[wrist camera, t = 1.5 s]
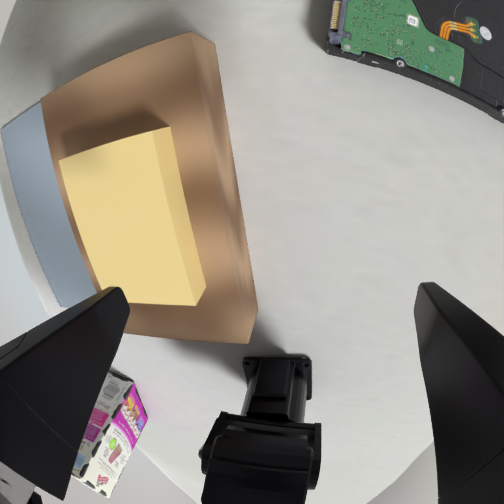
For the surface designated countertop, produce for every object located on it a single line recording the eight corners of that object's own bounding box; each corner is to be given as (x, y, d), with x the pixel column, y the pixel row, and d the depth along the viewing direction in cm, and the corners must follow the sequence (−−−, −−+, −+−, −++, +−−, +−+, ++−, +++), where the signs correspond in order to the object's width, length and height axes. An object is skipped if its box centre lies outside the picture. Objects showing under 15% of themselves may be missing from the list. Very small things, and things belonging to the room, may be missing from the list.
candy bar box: (104, 368, 35) (47, 459, 21) (135, 380, 34) (80, 480, 20) (122, 408, 40) (82, 485, 26) (149, 418, 40) (110, 500, 26)
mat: (135, 312, 27) (134, 314, 27) (61, 305, 30) (60, 306, 30) (70, 85, 17) (68, 85, 17) (2, 129, 20) (0, 129, 20)
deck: (258, 309, 24) (248, 343, 21) (136, 305, 27) (115, 331, 23) (214, 44, 15) (191, 31, 12) (75, 94, 18) (40, 98, 14)
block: (206, 286, 19) (195, 305, 17) (120, 285, 20) (106, 301, 19) (170, 126, 14) (152, 130, 13) (79, 153, 16) (58, 160, 14)
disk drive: (518, 17, 8) (337, -62, 10) (537, 12, 6) (340, -81, 7) (511, 130, 13) (323, 58, 15) (532, 136, 11) (326, 50, 12)
